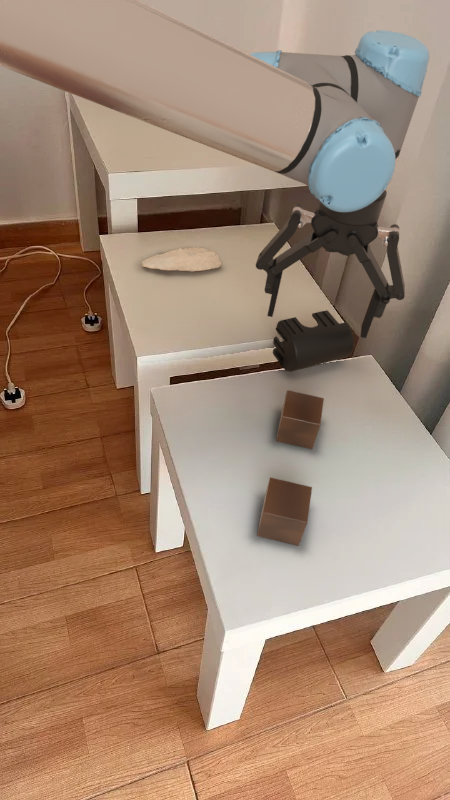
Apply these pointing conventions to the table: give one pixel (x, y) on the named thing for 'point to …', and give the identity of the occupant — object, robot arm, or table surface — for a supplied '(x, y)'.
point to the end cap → (312, 342)
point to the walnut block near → (285, 511)
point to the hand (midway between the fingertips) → (317, 321)
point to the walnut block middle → (300, 419)
